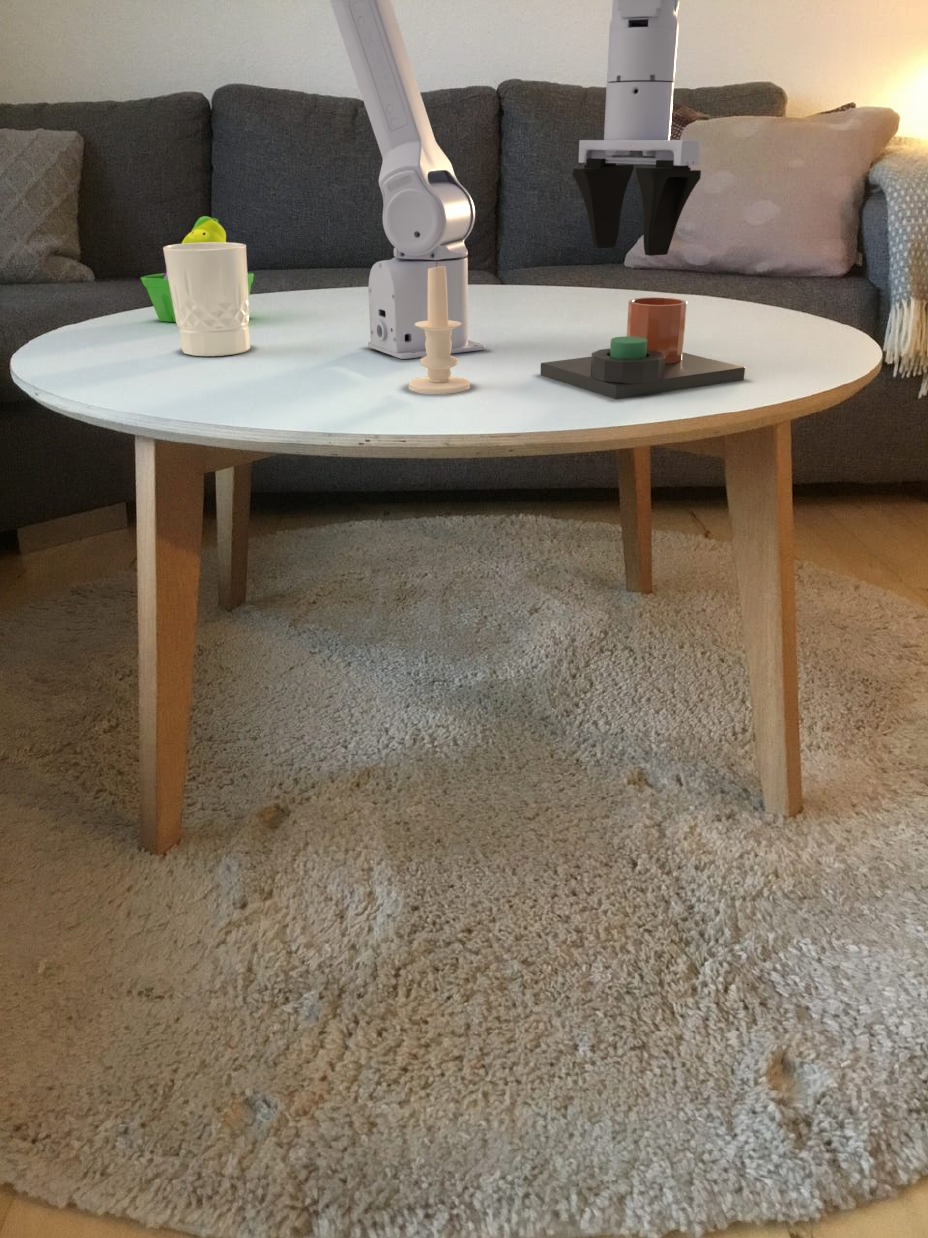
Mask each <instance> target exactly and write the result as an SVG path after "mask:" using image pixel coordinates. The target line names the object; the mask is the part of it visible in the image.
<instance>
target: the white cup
mask: <svg viewBox="0 0 928 1238" xmlns="http://www.w3.org/2000/svg"><path fill="white" fill-rule="evenodd" d="M162 250H163V256H164V262H165V269H166V270H167V275H168V281H169V287H170V293H171V297H172V302H173V308H174V313H175V319H176V322H175V323H176V326H177V327H178V333H179V334H178V335H179V341H180V348H181V351H182V353H184V354H185V355H189V356H198V357H223V356H231V355H236V354H237V355H238V354H242V353H245V352H248V351H249V350H250V349H251V336H250V326H249V321H250V305H249V303H250V295H249V290H248V273H249V272H248V257H247V255H248V254H247V244H246V243H240V242H229V241H226V242H203V243H184V244H181V243H175V244H168V245H165V246H163V247H162Z"/></svg>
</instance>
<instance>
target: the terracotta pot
mask: <svg viewBox="0 0 928 1238" xmlns="http://www.w3.org/2000/svg"><path fill="white" fill-rule="evenodd" d="M687 306H688V301H687V300H684V299H680V298H674V297H651V296H650V297H637V298H636V297H635V298H632V299H629V301H628V306H627V307H628V308H627V324H626V336H630V337H641V338H645V339H647V341H648V342H647V349H649V350H654V351H658V352H662V353H663V354H664V355H665V364H672V363H677V362H680V361H681V360H682V353H684V343H685V342H684V341H685V330H686V318H687V308H688V307H687Z"/></svg>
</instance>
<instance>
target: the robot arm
mask: <svg viewBox="0 0 928 1238" xmlns="http://www.w3.org/2000/svg"><path fill="white" fill-rule="evenodd" d="M329 3H330V5H331V9H332V11H333V15H334V17H335V20H336V23H337V26H338V29H339V32H340V36H341V38H342V42H343V44H344V47H345V50H346V53H347V56H348V58H349V62H350V65H351V68H352V71H353V74H354V77H355V80H356V84H357V86H358V89H359V92H360V95H361V99H362V101H363V104H364V107H365V110H366V113H367V116H368V119H369V122H370V125H371V128H372V131H373V134H374V137H375V140H376V143H377V145H378V148H379V151H380V154H381V157H382V164H381V167H380V171H379V176H378V186H379V189H380V192H381V196H382V201H383V202H382V203H383V204H382V205H383V207H382V225H383V226H382V227H383V230H384V233H385V235H386V237H387V239H388V241H389V242H390V244H391V245H392V246H393V247H394V248H393V258H391V259H386V260H385V259H384V260H379V261H377V262H375V263H374V264H373V265H372V267H371V269H370V270H369V271H370V272H369V277H368V308H369V309H368V311H369V330H370V331H369V332H370V341H368V342H367V347H368V348H369V349H373V350H375V351H379V352H380V353H384V354H386V355H389V356H392V357H394V358H397V359H401V360H409V359H417V358H423V357H425V356H427V352H426V347H425V342H426V336H425V330H424V329H422V328H419V327H417V326H415V323H417V322H421V321H428V269H429V268H434V267H436V260H437V267H441V266H445V267H446V280H447V304H448V320H451V321H458V322H460V323H461V326H458V327H456V328H454V329H452V330H451V331H452V334H451V337H450V339H451V342H452V347H451V354H460V353H468V352H477V351H485V350H486V345H485V344H484V343H483V344H482V343H480V342H476V341H473V340H470V339H469V279H468V278H469V276H468V275H469V269H468V268H469V267H468V265H469V262H468V261H469V260H468V253H469V252H468V249H467V247H466V245H465V240H466V239H468V237H469V235H471V232H472V230H473V228H474V225H475V221H476V220H475V219H476V209H475V204H474V201H473V199H472V197H471V195H470V193H469V191H468V190H467V189H466V188H465V187H464V186H463V185H462V184H461V183H460V182H459V179H458V178H457V176H456V174H455V171H454V168H453V165H452V162H451V161H450V160H449V158H448V156H447V155H446V154H445V152H444V151H443V150H442V149H441V147H440V146H439V144H438V142H437V141H436V138H435V135H434V132H433V129H432V125H431V123H430V119H429V116H428V113H427V110H426V107H425V104H424V101H423V97H422V93H421V91H420V88H419V84H418V81H417V78H416V75H415V72H414V69H413V66H412V63H411V60H410V57H409V53H408V51H407V47H406V44H405V41H404V38H403V34H402V31H401V28H400V25H399V22H398V19H397V15H396V12H395V9H394V6H393V3H392V0H329ZM611 6H612V7H611V20H610V21H609V30H608V31H609V32H608V33H609V34H608V51H607V52H608V55H607V71H606V72H607V73H606V87H605V88H606V90H605V91H606V92H605V94H606V95H605V108H604V109H605V110H604V111H605V112H604V131H603V139H580V140H578V141H579V142H578V145H579V146H578V163H579V164H580V163H581V164H584V165H583V166H584V167H573V169H572V177H573V178H574V181H575V182H576V185H577V186H578V189H579V192H580V194H581V197H582V199H583V202H584V205H585V209H586V214H587V219H588V223H589V229H590V234H591V239H592V244H593V248H594V249H609V248H610V249H612V248H616V245H617V242H618V236H619V231H620V224H621V223H620V222H621V216H622V215H621V214H622V207H623V202H624V198H625V194H626V191H627V188H628V185H629V182H630V179H631V177H632V174H633V172H634V170H635V175H636V178H637V181H638V186H639V191H640V194H641V201H642V211H643V250H644V255H645V256H650V257H651V256H652V257H653V256H667V255H668V253H669V250H670V247H671V244H672V240H673V238H674V234H675V231H676V228H677V226H678V223H679V219H680V217H681V214H682V212H683V210H684V209H685V208H684V207H685V205H686V203H687V202H688V199H689V198H690V196H691V194H692V192H693V190H694V189H695V187H696V186H697V184H698V183H699V181H700V180H701V176H702V170H701V169H692V167H690V166H699V164H700V156H701V155H700V153H701V143H702V140H701V139H671V129H672V127H671V126H672V113H673V102H674V101H673V100H674V88H675V76H676V62H677V49H678V37H679V24H680V23H679V20H678V10H679V7H680V0H612V5H611ZM631 151H632V152H633V151H634V152H636V151H639V152H640V151H641V152H642V156H643V157H631V156H629V155H630V152H631ZM622 156H623V157H622ZM625 156H626V157H625ZM627 156H629V157H627ZM650 156H651V157H650ZM652 156H654V157H652ZM635 165H655V166H645V167H643V166H641V167H639V166H637V167H635ZM451 354H450V355H451Z"/></svg>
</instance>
